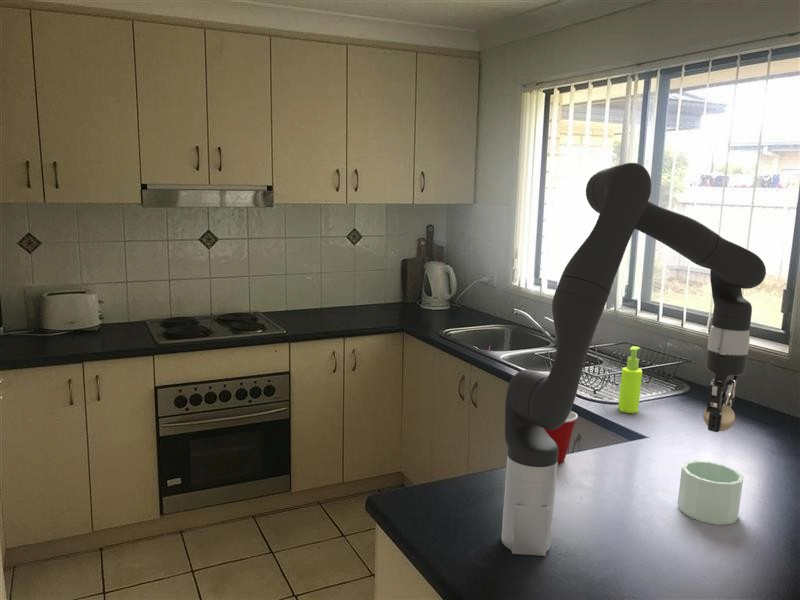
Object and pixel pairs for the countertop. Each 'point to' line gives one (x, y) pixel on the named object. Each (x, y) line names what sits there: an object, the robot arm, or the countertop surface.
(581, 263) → the robot arm
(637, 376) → the soap dispenser
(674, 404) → the countertop surface
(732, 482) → the ceramic cup
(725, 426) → the wooden ball
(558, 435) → the plastic cup
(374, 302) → the countertop surface
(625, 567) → the countertop surface
